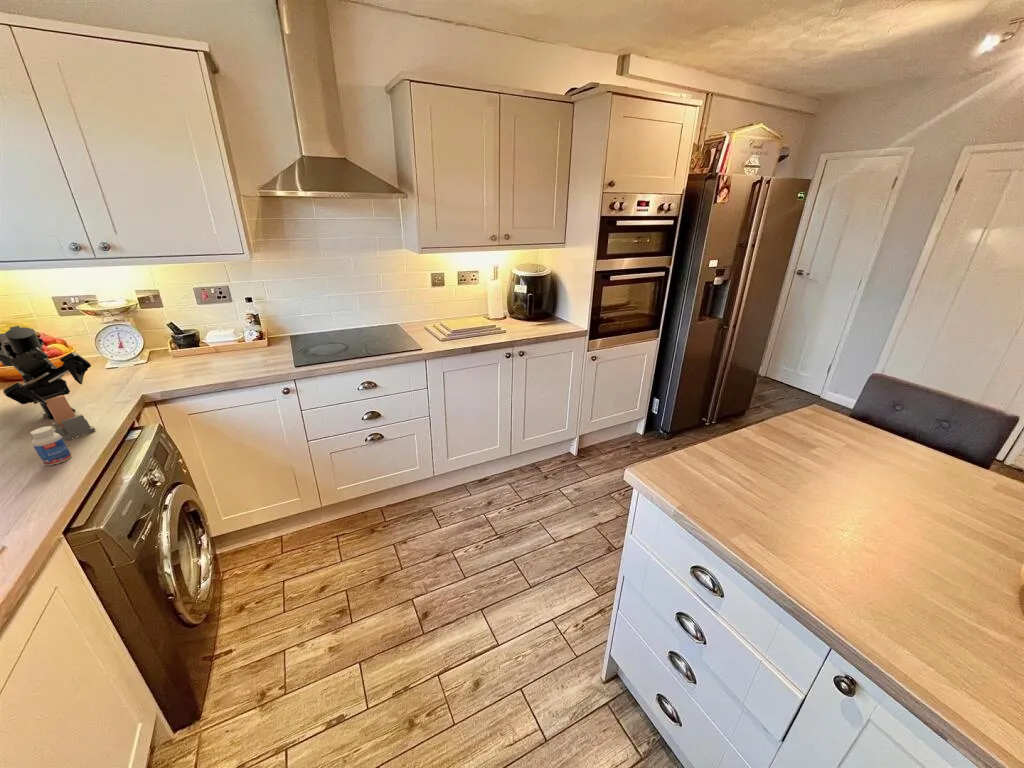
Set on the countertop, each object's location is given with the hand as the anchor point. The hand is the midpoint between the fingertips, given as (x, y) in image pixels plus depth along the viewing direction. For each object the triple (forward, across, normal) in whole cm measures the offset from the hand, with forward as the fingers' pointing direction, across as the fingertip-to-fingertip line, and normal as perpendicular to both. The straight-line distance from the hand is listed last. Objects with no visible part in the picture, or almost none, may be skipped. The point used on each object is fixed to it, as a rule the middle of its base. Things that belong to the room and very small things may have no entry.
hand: (63, 393), depth 120 cm
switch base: (+3, -7, +12) cm, 14 cm away
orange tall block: (0, -7, +12) cm, 14 cm away
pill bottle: (+18, -11, +3) cm, 21 cm away
